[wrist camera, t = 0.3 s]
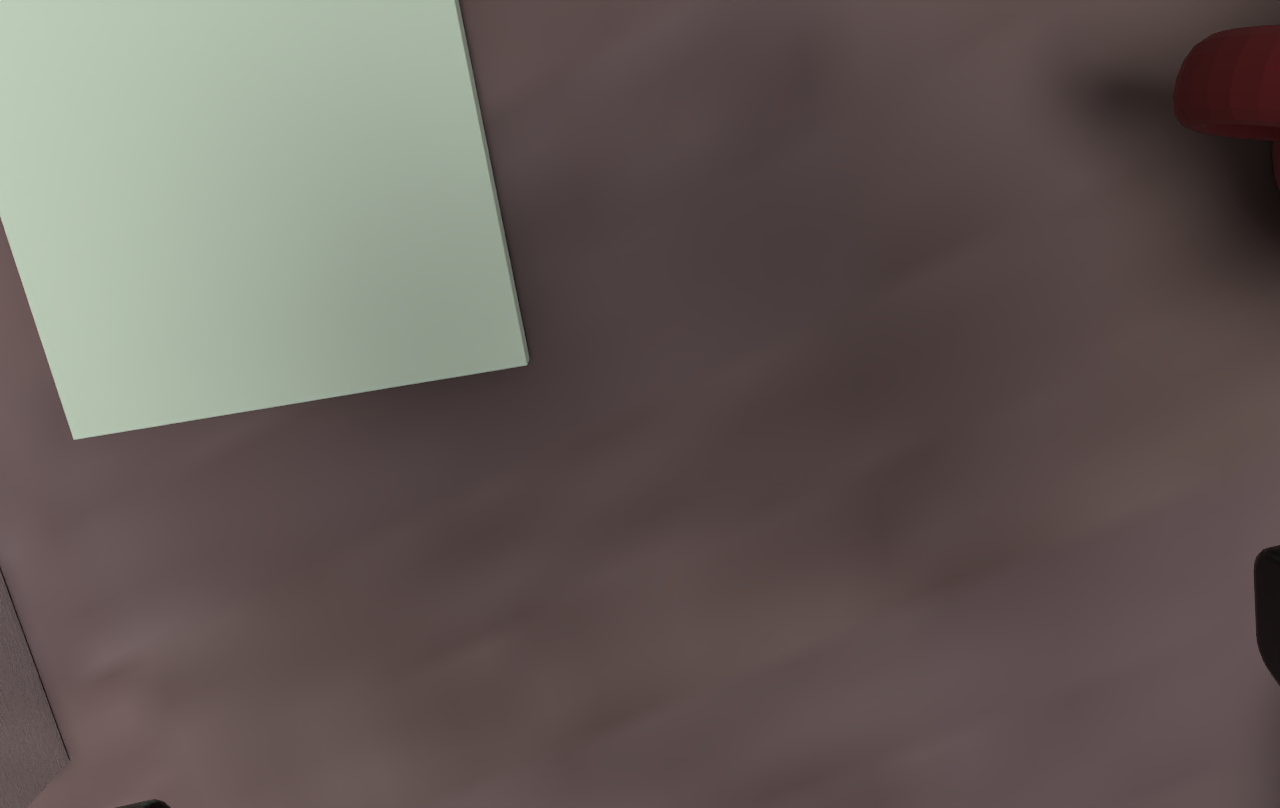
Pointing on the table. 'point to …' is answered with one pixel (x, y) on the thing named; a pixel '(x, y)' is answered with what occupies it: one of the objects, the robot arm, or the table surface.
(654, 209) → the table surface
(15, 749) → the frame
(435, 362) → the mat
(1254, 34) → the mug
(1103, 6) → the table surface
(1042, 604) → the table surface
